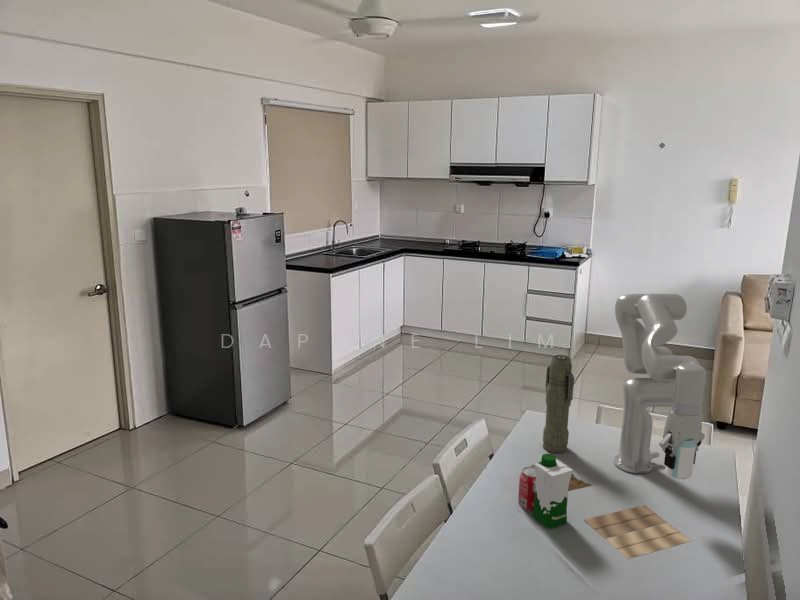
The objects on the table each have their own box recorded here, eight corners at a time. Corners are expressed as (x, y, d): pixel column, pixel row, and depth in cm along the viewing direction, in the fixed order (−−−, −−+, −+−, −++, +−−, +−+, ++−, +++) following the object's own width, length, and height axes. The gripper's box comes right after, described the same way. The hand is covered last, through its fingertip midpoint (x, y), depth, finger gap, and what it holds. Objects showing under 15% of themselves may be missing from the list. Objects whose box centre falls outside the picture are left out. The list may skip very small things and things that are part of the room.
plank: (644, 508, 184) (644, 504, 184) (666, 525, 176) (666, 521, 176) (583, 523, 176) (584, 519, 176) (604, 542, 168) (604, 537, 168)
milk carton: (550, 511, 183) (555, 450, 178) (572, 527, 175) (577, 463, 170) (527, 518, 179) (531, 456, 174) (548, 535, 171) (552, 470, 166)
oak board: (667, 526, 176) (667, 522, 175) (691, 544, 167) (692, 540, 167) (605, 542, 168) (605, 538, 168) (627, 562, 160) (628, 558, 159)
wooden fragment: (606, 493, 193) (606, 490, 193) (583, 504, 187) (583, 501, 187) (544, 460, 214) (545, 458, 214) (522, 469, 208) (522, 466, 208)
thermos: (560, 457, 215) (567, 364, 207) (534, 445, 224) (540, 355, 216) (575, 450, 221) (583, 359, 212) (549, 438, 230) (556, 350, 222)
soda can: (543, 504, 186) (546, 468, 184) (538, 516, 180) (541, 479, 177) (521, 498, 189) (523, 463, 187) (515, 510, 183) (517, 474, 180)
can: (670, 465, 181) (675, 428, 178) (695, 474, 176) (700, 436, 173) (661, 474, 176) (665, 436, 173) (686, 483, 171) (691, 444, 169)
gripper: (698, 398, 178) (691, 453, 182) (652, 406, 171) (646, 464, 176) (720, 407, 171) (712, 465, 175) (673, 417, 165) (666, 476, 169)
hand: (679, 464), depth 175 cm, fingers closed on can, 7 cm apart
